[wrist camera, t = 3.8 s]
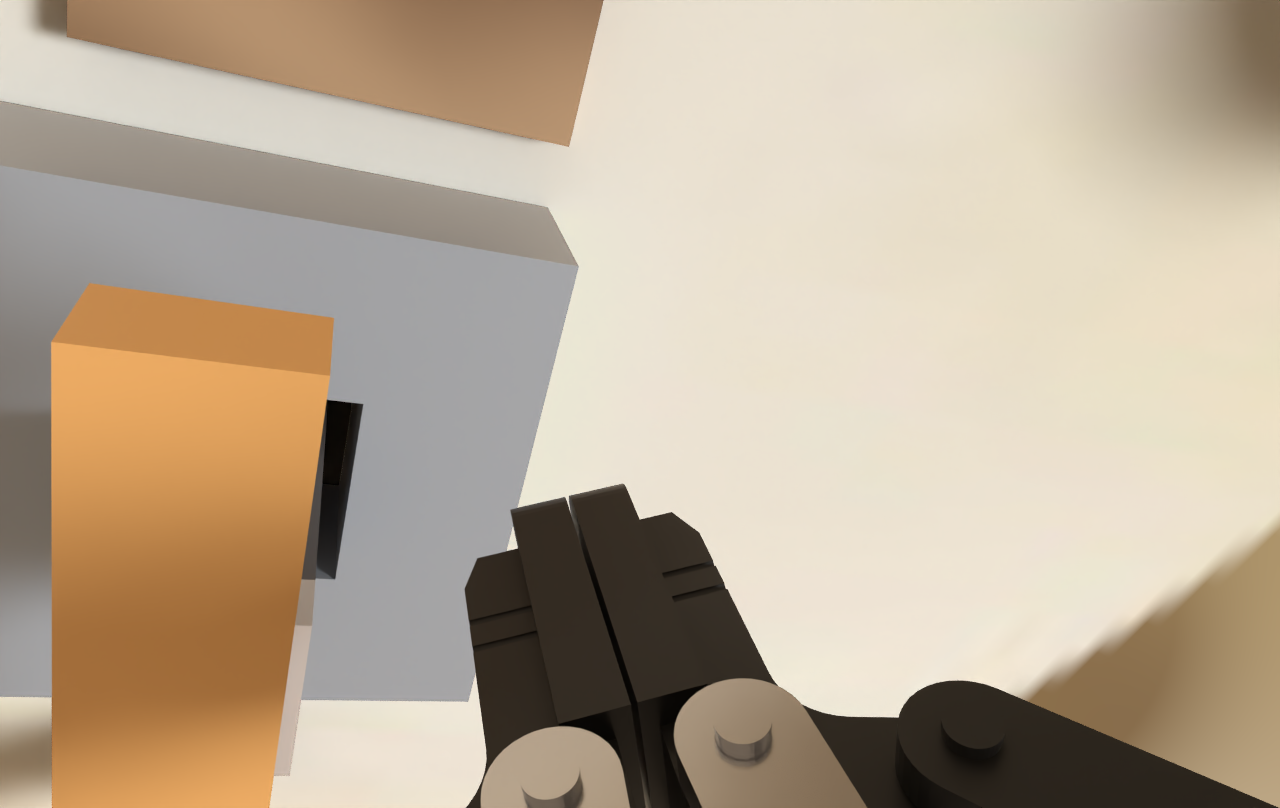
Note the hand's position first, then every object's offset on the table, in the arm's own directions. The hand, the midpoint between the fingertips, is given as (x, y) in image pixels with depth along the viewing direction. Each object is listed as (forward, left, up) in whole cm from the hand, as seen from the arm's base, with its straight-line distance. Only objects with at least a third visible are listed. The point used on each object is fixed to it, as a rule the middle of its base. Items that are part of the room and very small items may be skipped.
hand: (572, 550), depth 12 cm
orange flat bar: (+6, -4, -1) cm, 8 cm away
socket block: (+4, -4, -10) cm, 12 cm away
